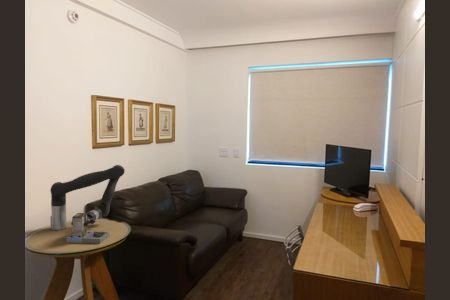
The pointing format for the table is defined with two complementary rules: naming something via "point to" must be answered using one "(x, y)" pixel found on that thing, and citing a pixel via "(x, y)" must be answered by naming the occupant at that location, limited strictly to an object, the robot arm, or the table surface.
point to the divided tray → (89, 237)
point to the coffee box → (79, 225)
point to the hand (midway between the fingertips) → (78, 224)
